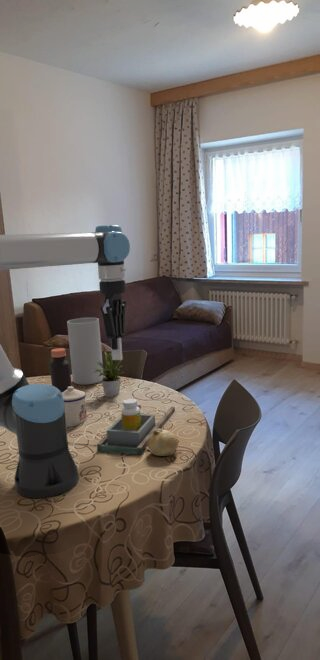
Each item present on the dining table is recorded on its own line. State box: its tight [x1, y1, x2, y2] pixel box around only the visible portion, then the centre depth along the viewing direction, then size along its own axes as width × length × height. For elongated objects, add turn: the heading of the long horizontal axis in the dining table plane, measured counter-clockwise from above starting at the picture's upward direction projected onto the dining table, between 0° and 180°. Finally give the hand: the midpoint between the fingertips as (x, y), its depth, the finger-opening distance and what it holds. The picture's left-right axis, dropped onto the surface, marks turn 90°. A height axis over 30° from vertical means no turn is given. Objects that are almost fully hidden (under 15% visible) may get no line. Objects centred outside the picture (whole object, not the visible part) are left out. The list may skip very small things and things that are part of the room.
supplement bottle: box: [120, 398, 141, 432], centre depth 145 cm, size 5×5×10 cm
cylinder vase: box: [66, 317, 105, 386], centre depth 204 cm, size 12×12×25 cm
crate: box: [106, 413, 156, 447], centre depth 146 cm, size 14×10×4 cm
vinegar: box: [49, 347, 73, 393], centre depth 177 cm, size 7×7×20 cm
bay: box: [96, 404, 176, 455], centre depth 152 cm, size 32×13×2 cm, turn 162°
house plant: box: [94, 351, 125, 398], centre depth 186 cm, size 14×14×16 cm
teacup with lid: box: [62, 385, 88, 427], centre depth 162 cm, size 12×9×12 cm
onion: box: [147, 428, 179, 457], centre depth 135 cm, size 8×8×7 cm
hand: (117, 359), depth 150 cm, fingers closed
